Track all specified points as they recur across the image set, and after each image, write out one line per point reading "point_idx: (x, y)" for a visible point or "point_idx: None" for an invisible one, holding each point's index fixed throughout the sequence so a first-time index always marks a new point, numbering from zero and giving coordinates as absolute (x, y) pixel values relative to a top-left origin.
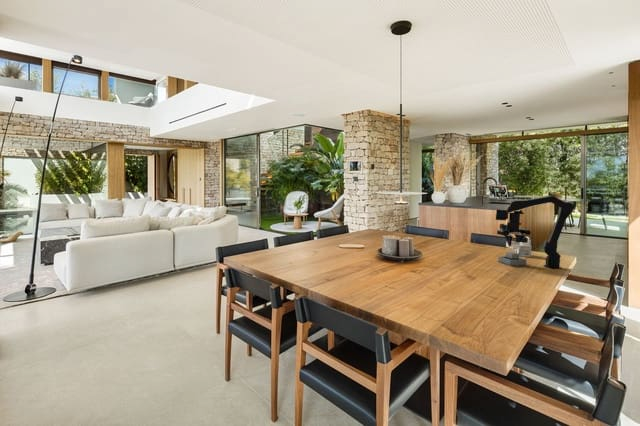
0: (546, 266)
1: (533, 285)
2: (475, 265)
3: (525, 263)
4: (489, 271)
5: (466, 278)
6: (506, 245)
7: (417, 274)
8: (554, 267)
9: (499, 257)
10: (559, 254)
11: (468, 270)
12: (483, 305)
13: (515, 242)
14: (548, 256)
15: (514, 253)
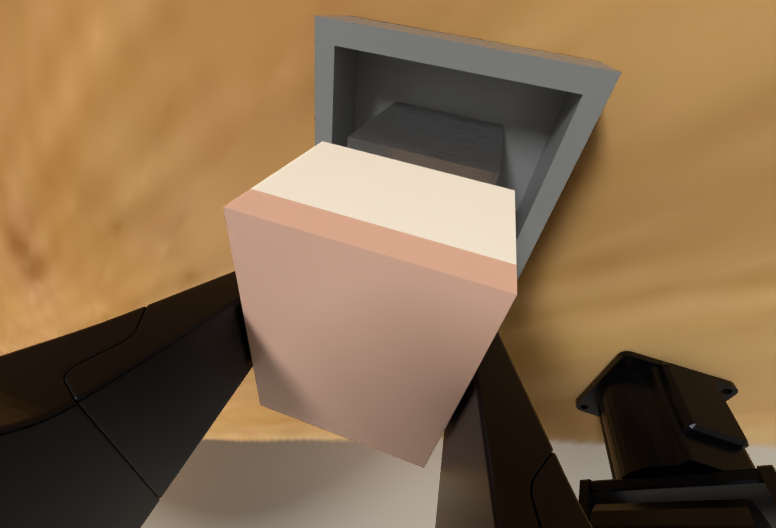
0: (604, 375)
1: (230, 407)
2: (58, 62)
3: None
4: (129, 235)
5: (8, 257)
6: (305, 164)
7: None
8: (599, 417)
9: (320, 43)
10: None
11: (8, 162)
12: None
13: (365, 409)
14: (680, 471)
15: None
